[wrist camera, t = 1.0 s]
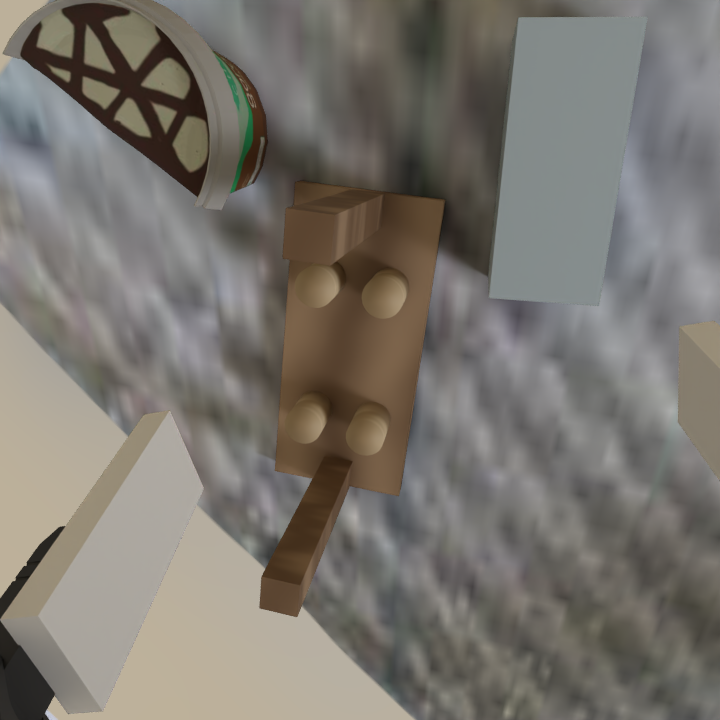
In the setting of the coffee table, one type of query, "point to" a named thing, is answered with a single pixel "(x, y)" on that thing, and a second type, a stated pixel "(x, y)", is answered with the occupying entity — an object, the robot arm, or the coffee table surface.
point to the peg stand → (347, 358)
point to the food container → (153, 88)
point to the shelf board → (562, 155)
